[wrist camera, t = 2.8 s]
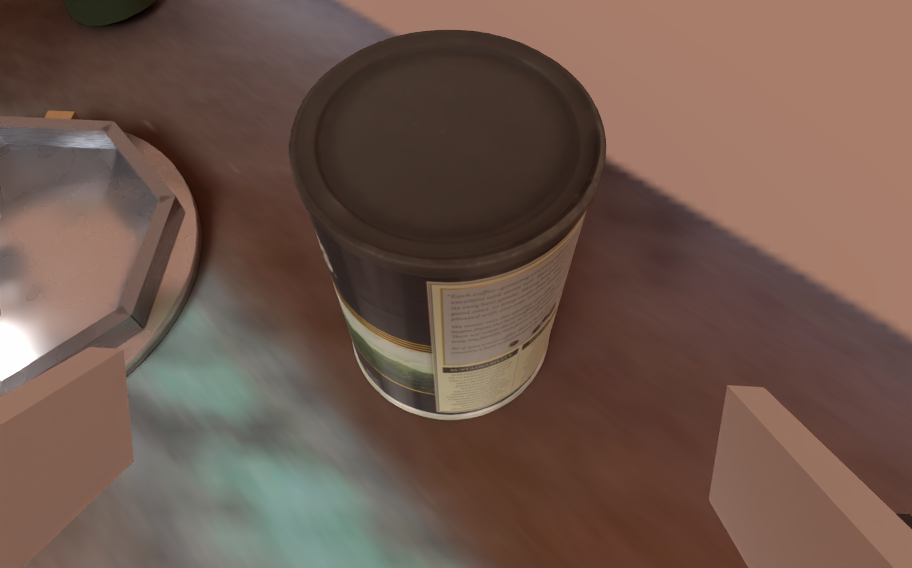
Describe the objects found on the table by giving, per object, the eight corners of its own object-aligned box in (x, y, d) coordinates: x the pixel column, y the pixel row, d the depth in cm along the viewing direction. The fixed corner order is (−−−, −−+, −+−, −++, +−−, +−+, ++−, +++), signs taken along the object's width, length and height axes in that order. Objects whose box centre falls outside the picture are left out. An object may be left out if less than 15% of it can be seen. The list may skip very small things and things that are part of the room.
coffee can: (331, 410, 30) (248, 245, 18) (372, 235, 36) (327, 17, 23) (546, 436, 30) (607, 282, 18) (555, 253, 35) (607, 39, 23)
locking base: (-280, 437, 30) (-337, 420, 28) (-73, 126, 40) (-103, 96, 38) (136, 464, 29) (110, 449, 27) (239, 141, 39) (226, 111, 37)
